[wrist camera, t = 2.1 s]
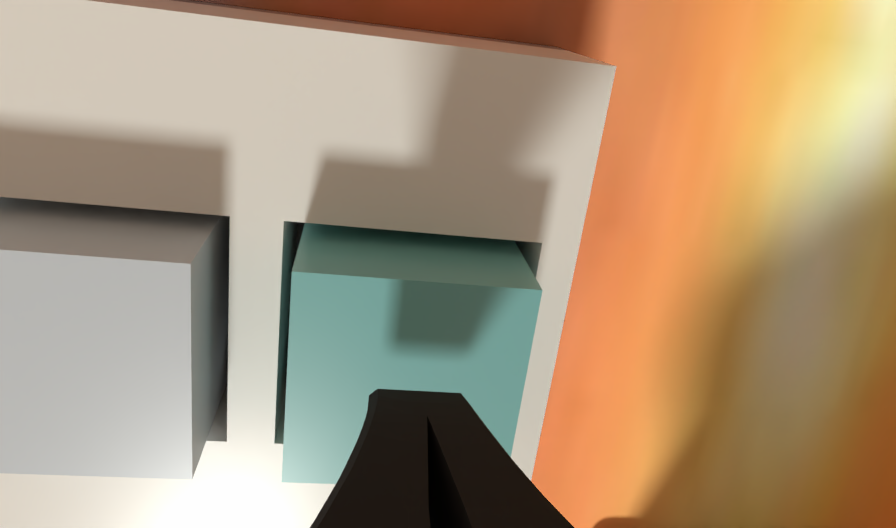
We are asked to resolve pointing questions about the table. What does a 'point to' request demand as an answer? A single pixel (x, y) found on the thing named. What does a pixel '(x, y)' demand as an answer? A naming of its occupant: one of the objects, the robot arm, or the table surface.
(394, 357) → the teal key
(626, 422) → the table surface
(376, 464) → the robot arm
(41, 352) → the grey key
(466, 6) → the table surface
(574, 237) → the keypad
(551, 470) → the table surface
